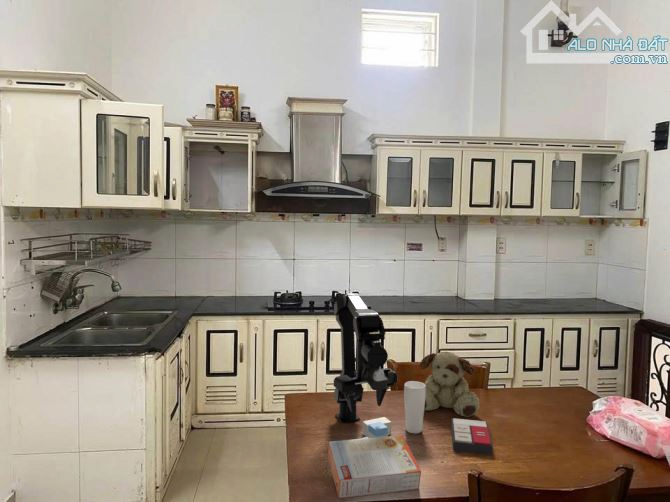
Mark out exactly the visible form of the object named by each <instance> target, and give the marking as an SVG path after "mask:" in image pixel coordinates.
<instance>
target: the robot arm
mask: <svg viewBox="0 0 670 502" xmlns="http://www.w3.org/2000/svg"><path fill="white" fill-rule="evenodd" d="M334 303H335V304H334V306H333V314H334V316H335V321H336V323H337V324H338V326H339V327H340V337H341V338H340V341H341V342H340V346H341V372H340V374H339V376H335V377H334V379H333V387H334V392H333V396H334V397H333V398H334V400H335V402H336V404H338V413H335V414H334V416H335V417H336V418H337V419H338V420H339V421H340V422H341V423H343V424H345V423H351V422H356V421H360V420H361V417H360V416H358V415H357V402H360V403H362V401H363V393H364V387H363V385H364V384H367V385H369V386H370V389H371V390H373V391H375V392H376V393H375V395H376V405H377V406H378V407H381V406H382V403H383V400H384V397H385V395H386V393H387V390H388V389H390V388H391V387H393V386H394V385H395V384H397V383H398V382H399V381H398V380H399V376H398V373H397V372H396V371H394V370H393V369H392V368H388V367H386V368H381V367H383V366H384V365H386V363H387V361H388V358H389V355H388V352H387V350H386V349H385V348H384V346H383V345H382V341H381V340H386V337H385V335H386V330H385V326H384V323H383V322H384V321H383V319H382V317H381V316H380V314H379V313H378V312H377V311H375V310H372V309H369V308H368V306H367V305H366V304H365V302H364V300H362V297H361V294H360V293H357V292H356V293H354V292H353V293H349V292H348V293H345V294H344V295H343V296H342V297H341V298H339V299H337V300H336V301H335V302H334ZM355 337H356V339H357V340H356V344H357V345H356V346H355ZM355 347H356V348H355Z"/></svg>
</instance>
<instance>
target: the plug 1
mask: <svg viewBox="0 0 670 502" xmlns="http://www.w3.org/2000/svg"><path fill="white" fill-rule="evenodd" d="M376 422H381V423H383V424H384V425H385V426H387V427H388V436H389V435H390V436H391V435H392V421H391V420H389V418H387V417H385V416H383V417H379V418H372V419H369V420H363V421H362V435H363V436H364V437H368V424H372V423H376Z"/></svg>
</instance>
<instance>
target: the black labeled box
mask: <svg viewBox="0 0 670 502" xmlns="http://www.w3.org/2000/svg"><path fill="white" fill-rule="evenodd" d="M450 428H451V430H450V431H451V437H452V438H451V440H452V441H451V442H452V450H453V451H454V452H463V453H472V454H480V455H488V456H492V455H493V453H494V451H493V449H494V446H493V442H492V437H491V433H490V429H489V425H488V422H487V421H484V420H476V419H475V420H473V419H466V418H465V419H464V418H463V419H462V418H451V424H450Z"/></svg>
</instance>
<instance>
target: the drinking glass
mask: <svg viewBox="0 0 670 502" xmlns="http://www.w3.org/2000/svg"><path fill="white" fill-rule="evenodd" d="M425 398H426V385H425V382H421V381H417V380H416V381H415V380H410V381H406V382H405V383H404V386H403V401H404V404H403V405H404V416H405V418H404V420H405V421H404V422H405V430H406V432H408V433H409V434H420V433H422V431H423V424H424V414H425V411H424V407H425Z"/></svg>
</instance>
